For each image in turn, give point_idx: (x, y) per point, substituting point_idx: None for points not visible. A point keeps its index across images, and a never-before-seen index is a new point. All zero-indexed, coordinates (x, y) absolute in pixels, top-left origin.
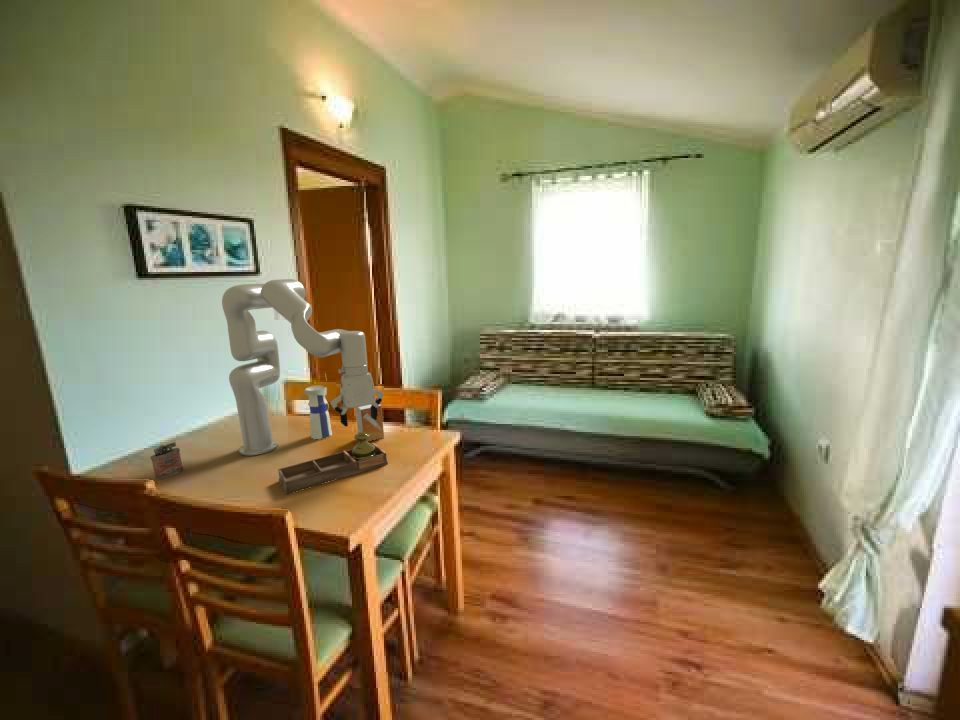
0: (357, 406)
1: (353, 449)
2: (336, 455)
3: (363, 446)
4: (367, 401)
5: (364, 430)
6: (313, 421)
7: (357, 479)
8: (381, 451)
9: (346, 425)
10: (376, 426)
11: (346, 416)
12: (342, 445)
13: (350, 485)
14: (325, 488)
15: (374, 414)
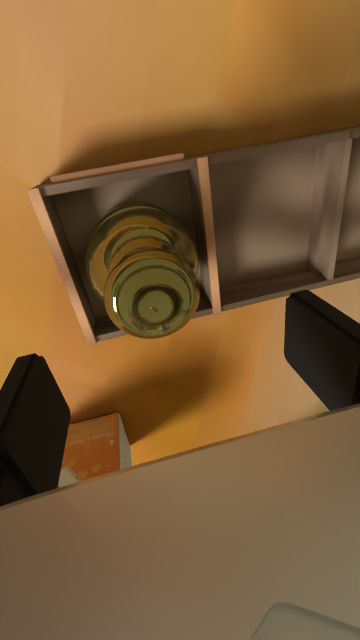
0: (303, 422)
1: (193, 266)
2: (244, 297)
3: (149, 244)
4: (69, 571)
5: (112, 450)
6: None
7: (195, 85)
8: (55, 232)
9: (302, 292)
10: (62, 468)
11: (352, 338)
12: (184, 414)
13: (236, 30)
14: (325, 78)
15: (24, 388)
